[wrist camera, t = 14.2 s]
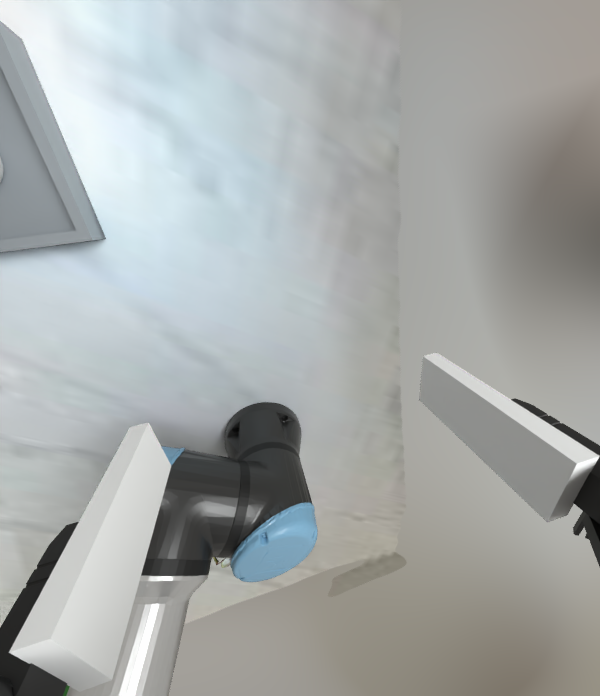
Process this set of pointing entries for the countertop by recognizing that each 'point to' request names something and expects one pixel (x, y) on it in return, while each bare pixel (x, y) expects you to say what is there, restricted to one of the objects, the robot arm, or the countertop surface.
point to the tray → (36, 163)
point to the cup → (1, 170)
